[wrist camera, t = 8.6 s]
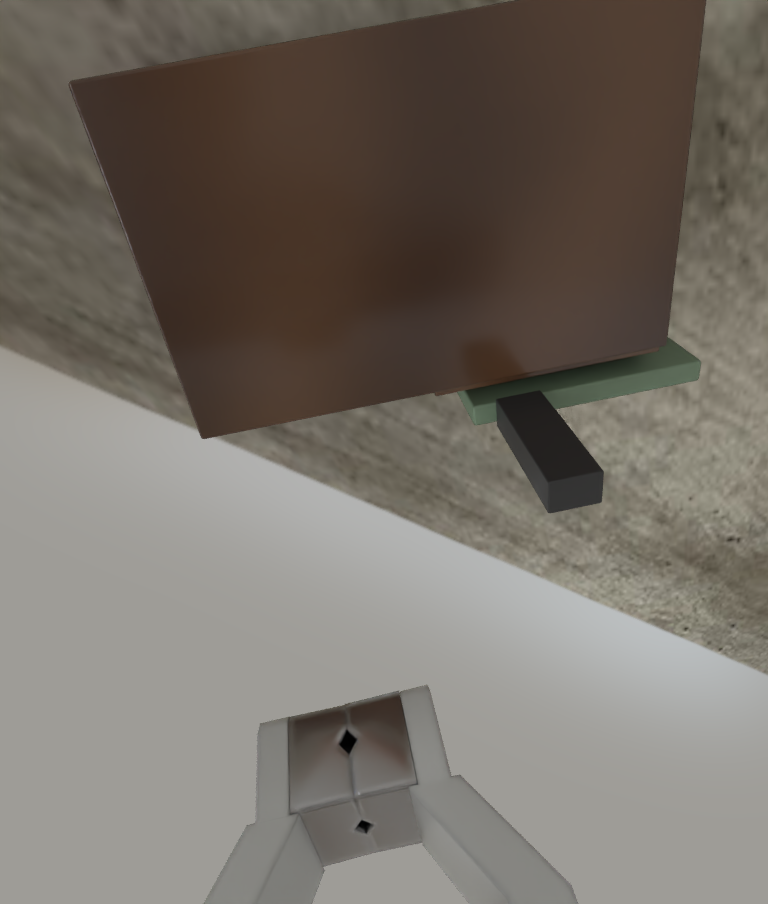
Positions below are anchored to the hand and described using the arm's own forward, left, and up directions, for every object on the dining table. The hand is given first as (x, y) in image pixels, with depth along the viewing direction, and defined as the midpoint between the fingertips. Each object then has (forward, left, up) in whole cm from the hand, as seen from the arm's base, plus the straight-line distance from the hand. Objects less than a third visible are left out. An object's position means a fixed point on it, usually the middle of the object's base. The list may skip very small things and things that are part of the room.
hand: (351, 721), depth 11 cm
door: (+8, 0, -20) cm, 22 cm away
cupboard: (+4, +6, -20) cm, 21 cm away
